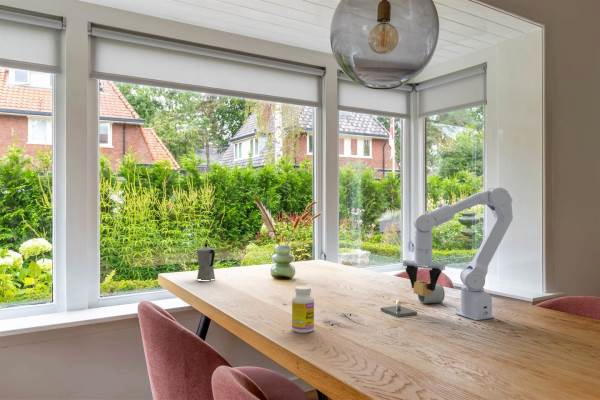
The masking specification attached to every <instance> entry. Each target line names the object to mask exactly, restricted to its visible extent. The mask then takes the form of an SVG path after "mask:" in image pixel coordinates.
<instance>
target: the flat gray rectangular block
mask: <svg viewBox="0 0 600 400" xmlns="http://www.w3.org/2000/svg"><path fill="white" fill-rule="evenodd" d="M401 301H402V300H396V305H392V306H384V307H383V306H382V307H380V312H383V313H385V314H386V313H387V314H389V315H390V316H393V317H396V318H402V317H408V316H417V315H418V311H416V310H413V309H410V308H407V307H405V306H402V304H401V303H402V302H401Z"/></svg>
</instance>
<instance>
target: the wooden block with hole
mask: <svg viewBox="0 0 600 400" xmlns="http://www.w3.org/2000/svg"><path fill="white" fill-rule="evenodd" d="M413 294H416V295H417V296H418V295H421V296H426V295H433V291H431V290H430V281H427V280H417V281H414V288H413Z"/></svg>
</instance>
